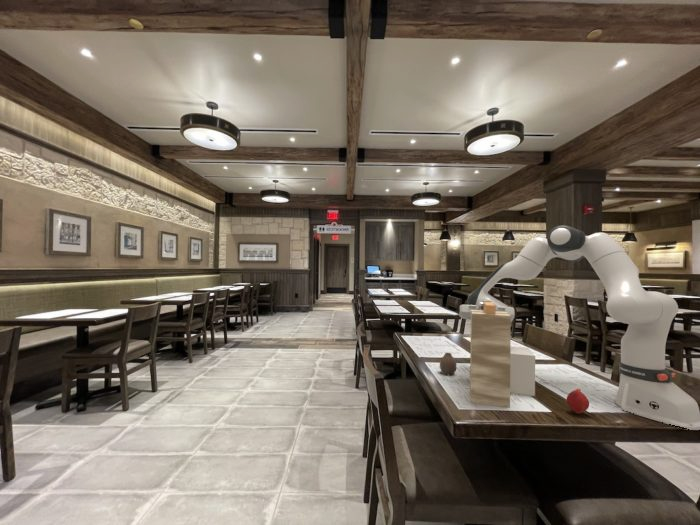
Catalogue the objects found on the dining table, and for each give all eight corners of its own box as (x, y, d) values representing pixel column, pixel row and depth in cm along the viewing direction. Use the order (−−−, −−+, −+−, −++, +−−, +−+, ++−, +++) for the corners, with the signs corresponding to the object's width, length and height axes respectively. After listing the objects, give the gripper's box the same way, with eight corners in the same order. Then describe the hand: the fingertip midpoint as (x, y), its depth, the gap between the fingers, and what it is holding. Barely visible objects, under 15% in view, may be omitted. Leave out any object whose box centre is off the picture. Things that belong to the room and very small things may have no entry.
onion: (579, 418, 99) (579, 392, 99) (562, 410, 105) (562, 385, 105) (593, 416, 101) (593, 390, 101) (575, 408, 106) (575, 384, 106)
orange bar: (482, 308, 128) (482, 300, 128) (490, 308, 127) (490, 301, 127) (485, 313, 110) (485, 305, 110) (495, 314, 109) (495, 305, 110)
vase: (458, 376, 137) (458, 355, 137) (442, 375, 137) (442, 355, 137) (453, 371, 144) (453, 351, 144) (437, 370, 144) (438, 351, 144)
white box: (494, 380, 132) (495, 345, 133) (527, 384, 129) (528, 347, 129) (498, 391, 120) (498, 352, 121) (534, 396, 116) (535, 355, 117)
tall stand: (469, 389, 122) (470, 309, 122) (505, 394, 118) (505, 311, 118) (470, 401, 110) (472, 313, 111) (509, 407, 106) (510, 315, 107)
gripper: (458, 310, 140) (458, 295, 129) (511, 313, 133) (516, 298, 122) (458, 323, 137) (458, 310, 126) (512, 327, 130) (517, 313, 119)
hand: (487, 304), depth 124 cm, fingers closed on orange bar, 3 cm apart
